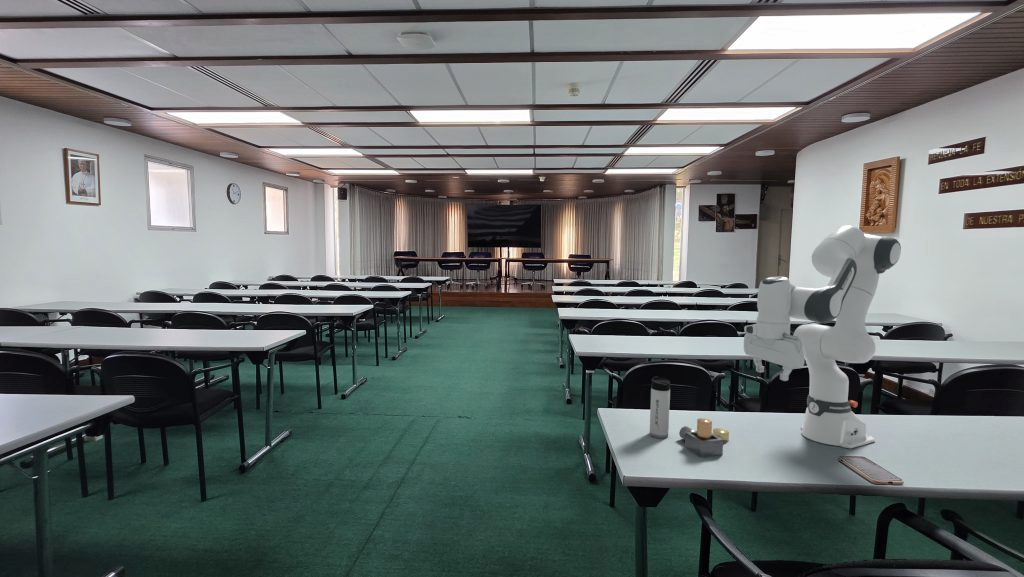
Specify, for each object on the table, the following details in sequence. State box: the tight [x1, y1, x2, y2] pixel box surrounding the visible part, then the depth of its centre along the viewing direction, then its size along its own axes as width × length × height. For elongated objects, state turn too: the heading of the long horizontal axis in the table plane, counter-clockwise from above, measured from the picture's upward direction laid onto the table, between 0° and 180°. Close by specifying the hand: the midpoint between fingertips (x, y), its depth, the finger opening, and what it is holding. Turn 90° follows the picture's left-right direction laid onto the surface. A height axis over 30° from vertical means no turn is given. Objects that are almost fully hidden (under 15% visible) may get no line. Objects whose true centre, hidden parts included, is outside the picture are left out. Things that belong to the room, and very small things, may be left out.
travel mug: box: [649, 376, 671, 439], centre depth 163 cm, size 6×7×20 cm
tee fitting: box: [678, 425, 724, 458], centre depth 153 cm, size 8×14×5 cm, turn 14°
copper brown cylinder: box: [696, 417, 713, 440], centre depth 150 cm, size 4×4×10 cm
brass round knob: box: [712, 428, 730, 443], centre depth 160 cm, size 5×5×3 cm
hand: (771, 375), depth 142 cm, fingers open, 8 cm apart
